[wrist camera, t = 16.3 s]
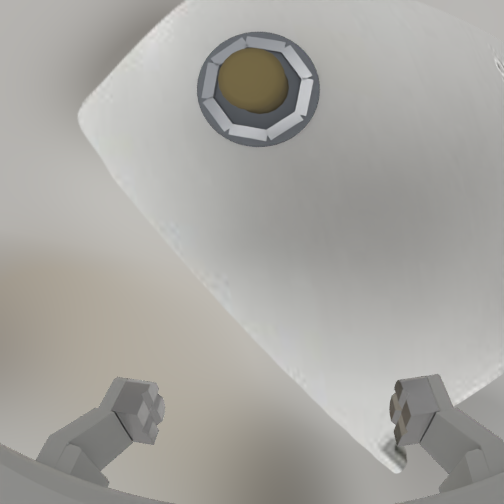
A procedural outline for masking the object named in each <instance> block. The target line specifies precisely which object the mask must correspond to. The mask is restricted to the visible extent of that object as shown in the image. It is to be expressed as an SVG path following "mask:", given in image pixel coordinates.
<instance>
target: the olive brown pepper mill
mask: <svg viewBox="0 0 504 504" xmlns="http://www.w3.org/2000/svg"><path fill="white" fill-rule="evenodd" d="M218 83H219V89H220V91H221V93H222V95H223V97H224V98H225V99H226V100H227V101H228V102H229V103H230V104H232V105H234V106H236V107H238V108H240V109H245V110H247V111H249V112H251V113H256V114H264V113H269V112H272V111H274V110H276V109H277V108H278V107H280V106H281V105H282V104H283V103H284V101H285V99H286V98H287V95H288V90H289V85H288V79H287V77H286V75H285V72H284V69H283V67H282V65H281V63H280V61H279V60H278V59H277V58H276V57H275V56H274V55H273V54H272V53H270V52H268V51H266V50H264V49H259V48H245V49H241V50H238V51H236V52H234V53H232V54H231V55H230V56H229V57H228V58H227V59H225V61H224V62H223V64H222V66H221V68H220V70H219V75H218Z"/></svg>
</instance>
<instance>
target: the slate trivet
mask: <svg viewBox="0 0 504 504" xmlns="http://www.w3.org/2000/svg"><path fill="white" fill-rule="evenodd" d="M245 48H259V49H264V50H266V51H268V52H270V53H272V54H273V55H274V56H275V57H276V58H277V59H278V60H279V61H280V63H281V65H282V67H283V69H284V72H285V75H286V77H287V79H288V85H289V90H288V95H287V98H286V99H285V101H284V103H283V104H282V105H281V106H280V107H278V108H277V109H276V110H274V111H272V112H269V113H264V114H256V113H251V112H249V111H247V110H245V109H240V108H238V107H236V106H234V105H232V104H230V103H229V102H228V101H227V100H226V99H225V98H224V97H223V95H222V93H221V91H220V89H219V83H218V75H219V70H220V68H221V66H222V64H223V62H224V61H225V59H227V58H228V57H229V56H230V55H231V54H232V53H234V52H236V51H238V50H241V49H245ZM319 93H320V92H319V79H318V75H317V71H316V69H315V67H314V65H313V63H312V61H311V59H310V58H309V56H308V55H307V54H306V53H305V52H304V51H303V50H302V49H301V48H300V47H299V46H298V45H297V44H295V43H294V42H292V41H291V40H289V39H287V38H285V37H282V36H279V35H277V34H272V33H267V32H250V33H244V34H240V35H237V36H235V37H232V38H230V39H228V40H226V41H225V42H223V43H222V44H220V45H219V46H218V47H216V48H215V49H214V50H213V51H212V52H211V54H210V55H209V56H208V58H207V59H206V61H205V62H204V64H203V66H202V68H201V71H200V74H199V78H198V84H197V96H198V101H199V105H200V108H201V111H202V113H203V115H204V117H205V118H206V120H207V121H208V123H209V124H210V125H211V126H212V127H213V129H215V130H216V131H217V132H218V133H219V134H221V135H222V136H223V137H225V138H227V139H229V140H230V141H233V142H235V143H238V144H241V145H245V146H252V147H265V146H271V145H275V144H279V143H281V142H284V141H286V140H288V139H290V138H292V137H293V136H295V135H296V134H298V133H299V132H300V131H301V130H302V129H303V128H304V127H305V126H306V125H307V124H308V122H309V121H310V119H311V118H312V116H313V114H314V112H315V110H316V107H317V104H318V100H319Z"/></svg>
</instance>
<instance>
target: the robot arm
mask: <svg viewBox="0 0 504 504" xmlns="http://www.w3.org/2000/svg"><path fill="white" fill-rule="evenodd" d="M394 388H395V392H396V393H395V394H393V395H392V397H391V400H390V409H389V410H390V417H391V421H392V422H393V423H394V424H395V425H396V427H395V429H394V435H395V439H396V444H397V446H404V445H410V444H417V443H420V445H421V446H422V447H423V448H424V449H425V450H426V451H427V452H428V453H429V454H430V455H431V456H432V458H433V459H434V460H436V462H437V463H438V464H439V465H441V467H442V468H443V469H444V470H445V471H446V472H447V473H448V474H449V476H448V477H447V478H446V479H445V480H444V482H443V483H442V484H441V485H440V487H439V491H440V493H439V494H436V495H432V496H428V497H424V498H420V499H415V500H411V501H406V502H401V503H396V504H504V442H503V440H502V439H501V438H499V437H498V436H497V435H495V434H494V433H492V432H491V431H490V430H488V429H486V428H485V427H484V426H482V425H481V424H480V423H478V422H477V421H475V420H474V419H472V418H471V417H470V416H468V415H467V414H465V413H464V412H463V411H461V410H460V409H459V408H454V407H453V405H452V403H451V400H450V398H449V395H448V393H447V391H446V388H445V386H444V384H443V381H442V379H441V377H440V375H438V374H435V375H429V376H421V377H415V378H408V379H401V380H398V381H397V382H396V384H395V387H394ZM158 390H159V388H158V386H157V384H156V383H155V382H148V381H142V380H134V379H128V378H121V377H117V378H115V379H114V380H113V382H112V384H111V386H110V388H109V389H108V391H107V393H106V395H105V397H104V399H103V401H102V402H101V404H100V406H99V408H94V409H92V410H91V411H89V412H88V413H86V414H84V415H83V416H81V417H79V418H78V419H76V420H75V421H73V422H71V423H70V424H68V425H67V426H65V427H63V428H62V429H60V430H58V431H57V432H55V433H53V434H52V435H50V436H49V438H48V439H47V441H46V443H45V444H44V446H43V448H42V450H41V452H40V453H39V455H38V457H37V459H36V460H33V459H31V458H29V457H27V456H25V455H23V454H21V453H19V452H17V451H15V450H12V449H11V448H9V447H7V446H5V445H3V444H1V443H0V504H174V503H168V502H163V501H158V500H154V499H149V498H144V497H141V496H137V495H132V494H129V493H125V492H121V491H118V490H114V489H111V488H107V487H108V484H109V481H108V479H107V478H106V477H105V476H104V475H103V474H102V473H101V470H102V469H103V468H104V467H105V466H107V465H108V464H109V463H110V462H111V461H112V460H114V459H115V458H116V457H117V456H118V455H119V454H121V453H122V452H123V451H124V450H125V449H126V448H127V447H128V446H130V445H131V444H132V443H133V442H139V443H145V444H151V445H154V443H155V440H156V437H157V434H158V432H159V430H158V428H157V425H158V424H159V423H160V422H162V420H163V417H164V413H165V404H164V400H163V398H162V397H161V396H160V395H159V394H158ZM132 441H133V442H132Z"/></svg>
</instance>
